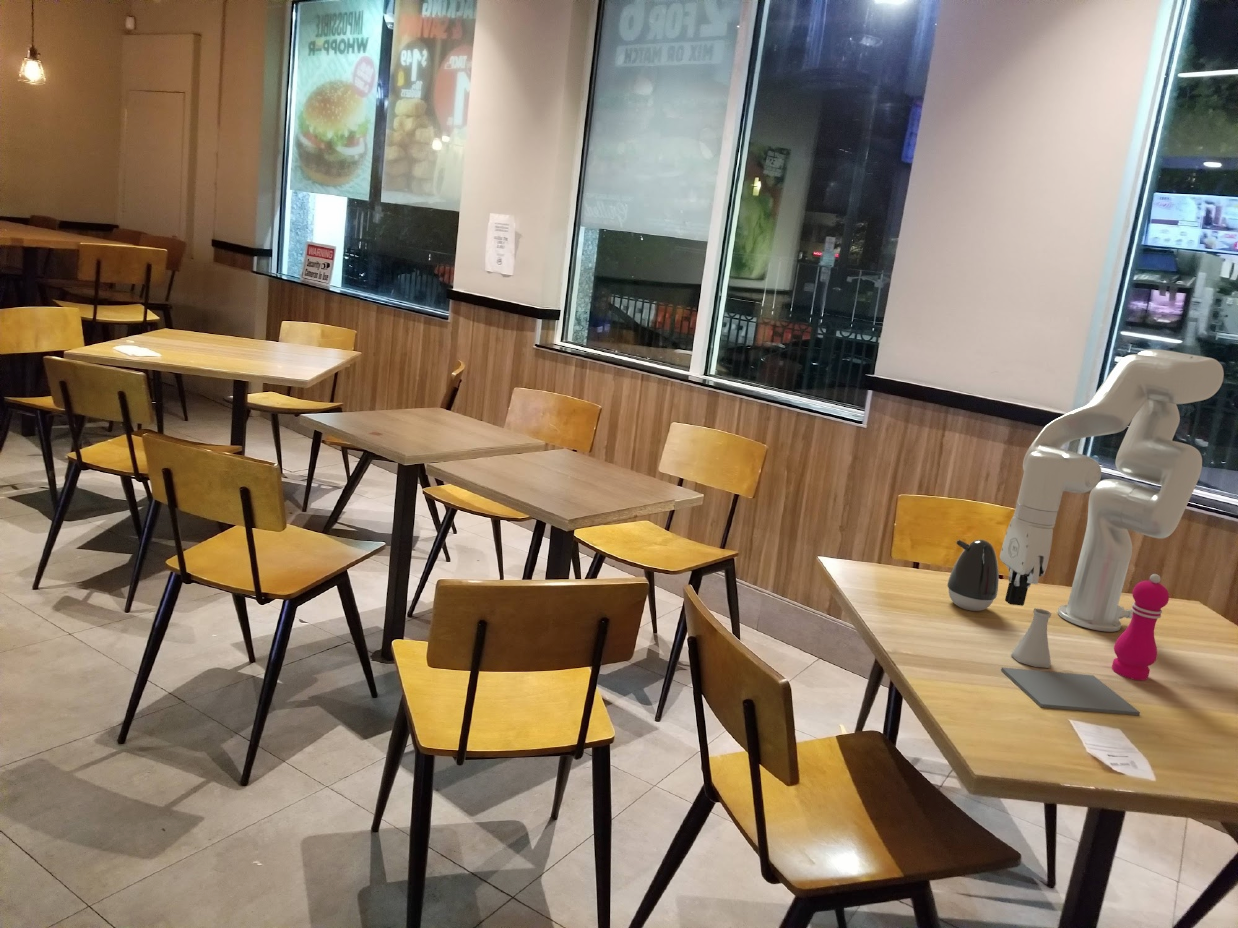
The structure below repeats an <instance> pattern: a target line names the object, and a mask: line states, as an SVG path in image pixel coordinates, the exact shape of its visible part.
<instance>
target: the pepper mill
mask: <svg viewBox="0 0 1238 928" xmlns="http://www.w3.org/2000/svg"><path fill="white" fill-rule="evenodd" d="M1161 579H1162V578H1161V576H1160V575H1158V574H1156V573H1152V574H1151V575H1149V580H1142V581H1139V582H1138V583H1136V584H1135V585H1134V588H1133V589H1132V593H1131V596H1132V598H1133V600H1134V602H1132V605H1131V608H1130V610H1132V611H1133V615H1132V619H1130V622H1129V624H1128V625H1127V627H1126V628H1125V630H1124V631H1123V632H1122V633H1121V634H1120V635H1119V636H1118V638H1117V639H1116V641H1115V642H1114V647H1113V651H1114V654H1115V655H1116V657H1115V658H1114V659H1113V661H1112V665H1111V669H1112V670H1113V672H1114V673H1116V674H1117V675H1119V676H1122V677H1123V678H1124V677H1125V678H1127V679H1131V680H1135V681H1146V680H1148V678H1149V675H1150V672H1151V669H1150V668H1149V666H1151V665H1153V664H1154V663H1155V662H1156V661H1157V658H1158V647H1157V643H1156V639H1155V628H1156V625H1157V621H1158V619H1161V617H1162V615H1161V614H1163V610H1162V609H1163V608H1164V607H1166V606H1167V605H1168V602H1169V600H1170V593H1169V591H1168V589H1167V587H1165V586H1164V585H1163V584H1161V583H1160V582H1161Z"/></svg>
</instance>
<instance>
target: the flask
mask: <svg viewBox="0 0 1238 928" xmlns="http://www.w3.org/2000/svg"><path fill="white" fill-rule="evenodd" d="M1032 612H1033V618H1032V621H1031V623H1030V625H1029V627H1028V629H1027V631H1026V632H1025V633H1024V634H1023V636H1022V638H1021V639H1020V640H1019V642H1018V643H1017V645H1016V646H1015V647H1014V649H1013V650H1012V651H1011V652H1012V653H1011V654H1010V656H1011V657H1012V658H1014V659H1015V660H1016V661H1017V662H1018V663H1021V664H1025V665H1028V666H1032V667H1034V668H1035V667H1036V668H1043V669H1044V668H1047V669H1049V668H1050V667H1051V663H1052V662H1051V655H1050V648H1049V639H1048V624H1049V619H1050V618H1051V616H1052V612H1050V611H1049V610H1047V609H1042V608H1034V609H1033V611H1032Z"/></svg>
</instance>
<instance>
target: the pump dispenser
mask: <svg viewBox="0 0 1238 928" xmlns="http://www.w3.org/2000/svg"><path fill="white" fill-rule="evenodd" d="M956 545H958V546H959V547H960V548H962V549H963V550H962V552H961V553H960V555H959V557H958V559H957V560H956V562H954V565H953V568H952V571H951V573H950V575H949V578H948V581H947V588H948V595H949V598H950V600H951V602H953V603H954V605H956V606H957V607H959V608H961V609H963V610H966V611H971V612H981V611H984V610H986V609H987V608H989V607H990V606H991V605H992V604H993V602H994V601H995V599H997V596H998V592H999V582H1000V581H999V579H1000V578H999V575H1000V574H999V573H1000V572H999V565H998V564H999V563H998V558H997V554H996V550H995V549H994V546H993V545H992V544H991V543H990V542H989V541H988V540H984V539H975V540H973V541H971V542H970V543H969V544H968V543H966V542H964V541H962V540H960V539H958V540H957V541H956Z"/></svg>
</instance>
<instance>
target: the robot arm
mask: <svg viewBox="0 0 1238 928" xmlns="http://www.w3.org/2000/svg"><path fill="white" fill-rule="evenodd" d="M1223 381H1224V368H1223V365H1222V364H1221V363H1220V362H1219V361H1218V360H1217V359H1215V358H1212V357H1207V356H1202V355H1197V354H1190V353H1182V352H1178V351H1173V350H1165V349H1145V350H1141V351H1139V352H1138V353H1137V354H1136V353H1135V354H1134V353H1133V354H1128V355H1125V356H1123V357H1122V358H1121V359H1120V360H1118V362H1117V363H1116V364H1115V366H1114V367H1113V369H1112V370H1111V371H1110V372H1109V374H1108V375H1107V377H1106V378H1105V379H1104V381H1103V382H1102V384H1101V385H1100V387H1099V388H1098V389H1097V391H1096V392H1095V393H1094V395H1093V396H1092V397H1091V399H1090V400H1089V401H1088V403H1086V405H1084V406H1082V407H1079V408H1076V409H1074V410H1071V411H1069V412H1067V413H1065V414H1063V415H1061V416H1060V417H1058V418H1055V419H1054V420H1052V421H1051V422H1049V423H1048V424H1046V425H1045V426H1044V427H1043V428H1042V429H1041V431H1040V432H1039V433H1038V435H1037V436H1036V438H1035V439H1034V440H1033V441H1032V443H1031V445H1029V448H1028V449H1027V451H1026V452H1025V455H1024V457H1023V462H1022V470H1023V475H1022V479H1021V482H1020V483H1021V484H1020V487H1019V492H1018V497H1017V500H1016V504H1015V509H1014V514H1013V515H1012V518H1011V519H1010V522H1009V524H1008V526H1007V529H1006V532H1005V536H1004V538H1003V542H1002V546H1001V550H1000V554H999V560H1000V561H1001V563H1003V565H1005V567H1006V568H1007V570H1008V571H1009V573H1008V578H1007V579H1008V587H1007V590H1006V594H1005V599H1004V600H1005V602H1006V603H1008V604H1009V605H1012V606H1021V607H1022V606H1024V604H1025V603H1026V602H1025V601H1026V597H1027V594H1028V590H1029V588H1030V587H1031V584H1032V585H1038V584H1039V580H1040V577H1043V576H1045V573H1046V571H1047V567H1048V565H1049V564H1048V563H1049V559H1050V554H1051V549H1052V543H1053V535H1054V533H1053V532H1054V528H1055V525H1056V521H1057V517H1058V513H1059V510H1060V506H1061V502H1062V501H1061V500H1062V498H1063V493H1064V492H1069V493H1075V494H1084V493H1085V494H1086V493H1088V492H1090V493H1089V496H1088V497H1089V498H1088V509H1087V511H1088V512H1087V522H1086V523H1087V524H1086V529H1085V533H1084V537H1083V541H1082V546H1081V550H1080V554H1079V557H1078V562H1077V566H1076V570H1075V574H1074V577H1073V582H1072V586H1071V590H1070V594H1069V596H1068V597H1069V598H1068V602H1067V604H1063V605H1062V604H1061V606H1059V607H1058V609H1057V614H1058V615H1059V616H1060V617H1061V618H1062V619H1064V620H1066V621H1067V622H1069V623H1072V624H1073V625H1076V626H1079V627H1083V628H1085V629H1090V630H1093V631H1099V632H1105V633H1106V632H1108V633H1109V632H1111V633H1112V632H1113V633H1114V632H1118V631H1120V630H1121V627H1122V622H1121V621H1120V620H1122V619H1123V618H1124V619H1125V618H1126V619H1130V620H1131V619H1132V615H1133V611H1132V610H1131V609H1125V608H1124V606H1121V605H1119V603H1120V599H1121V595H1122V592H1123V588H1124V584H1125V581H1126V577H1127V573H1128V570H1129V569H1128V568H1129V564H1130V561H1131V558H1132V553H1133V544H1132V543H1133V541H1132V539H1131V536H1130V533H1129V531H1131V532H1133V533H1137V534H1140V535H1144V536H1147V537H1151V538H1155V539H1166V538H1168V537H1169V536H1171V535H1172V534H1173V533H1174V532H1175V531H1176V528H1177V527H1178V526H1179V523H1180V521H1181V519H1182V517H1183V515H1184V512H1185V510H1186V508H1187V505H1188V503H1189V501H1190V500H1191V497H1192V495H1193V493H1194V490H1195V488H1196V485H1197V484H1198V481H1199V479H1200V476H1201V474H1202V470H1203V457H1202V454H1201V452H1200V450H1199V449H1197V448H1196V447H1195V446H1192V445H1190V444H1187V443H1183V442H1180V441H1175V440H1173V439H1174V436H1175V434H1176V432H1177V429H1178V427H1179V425H1180V418H1181V417H1180V411H1179V409H1178V408H1179V407H1178V406H1177V405H1183V404H1191V403H1195V402H1196V403H1197V402H1201V401H1204V400H1208V399H1210V398H1211V397H1213V396H1214V395H1215V394H1216V393H1217V392H1218V391H1219V390H1220V388H1221V387H1222V384H1223ZM1128 426H1129V427H1128ZM1125 429H1127V431H1126V433H1125V435H1124V437H1123V439H1122V442H1121V444H1120V446H1119V449H1118V451H1117V453H1116V458H1115V467H1116V469H1117V471H1119V472H1120V473H1121V474H1123V475H1125V476H1127V477H1130V478H1133V479H1137V480H1139V481H1143V482H1146V483H1147V482H1148V483H1151V484H1156V485H1159V486H1160V490H1157V489H1155V488H1154V489H1153V488H1150V487H1147V486H1143V485H1140V484H1136V483H1132V482H1129V481H1126V480H1120V479H1113V478H1108V479H1107V478H1106V479H1102V480H1101V477H1102V467H1101V465H1100V464H1099V462H1098V461H1097V460H1096V459H1094V458H1093V457H1090V456H1088V455H1085V454H1082V453H1078V452H1075V451H1071V450H1068V449H1064V448H1062V447H1063V446H1064V445H1066V444H1068V443H1071V442H1073V441H1075V440H1080V439H1084V438H1092V437H1100V436H1106V435H1111V434H1117V433H1120V432H1123V431H1124V430H1125Z"/></svg>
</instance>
